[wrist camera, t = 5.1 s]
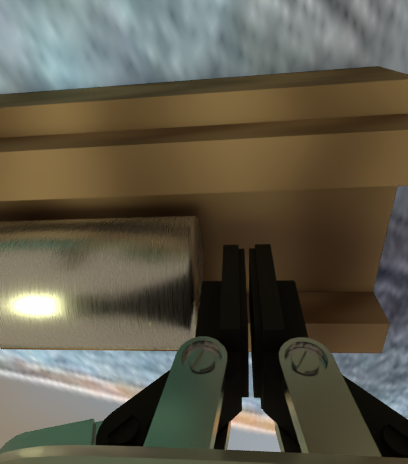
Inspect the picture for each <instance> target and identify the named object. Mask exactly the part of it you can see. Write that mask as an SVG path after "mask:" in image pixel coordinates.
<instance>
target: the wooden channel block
mask: <svg viewBox="0 0 408 464" xmlns="http://www.w3.org/2000/svg"><path fill="white" fill-rule="evenodd" d="M406 185H408V74H404V73H401V72H397V71H393V70H389V69H386V68H382V67H378V66H377V67H364V68H350V69H337V70H323V71H310V72H296V73H283V74H269V75H256V76H243V77H229V78H216V79H202V80H189V81H175V82H162V83H148V84H135V85H121V86H108V87H94V88H81V89H68V90H54V91H41V92H27V93H14V94H0V221H29V220H64V219H100V218H135V217H170V216H197V218H198V220H199V224H200V229H201V236H202V245H203V260H204V281H222V263H223V245H238V249H245V269H246V290H247V312H248V352H251V335H250V316H249V248H255V244H270V245H271V250H272V256H273V262H274V268H275V274H276V280H294V281H295V284H296V288H297V292H298V296H299V300H300V304H301V309H302V313H303V317H304V321H305V325H306V329H307V333H308V338H310V339H314V340H316V341H318V342H320V343H322V344H323V345H324V346H325V347H326V348H328V350H329V351H330V353H382V350H383V347H384V343H385V339H386V336H387V332H388V329H389V325H390V323H389V321H388V319H387V317H386V315H385V314H384V312H383V310H382V308H381V306H380V304H379V302H378V300H377V298H376V296H375V295H374V293H373V290H374V285H375V281H376V277H377V272H378V268H379V264H380V259H381V255H382V250H383V246H384V242H385V237H386V233H387V229H388V224H389V220H390V216H391V211H392V207H393V203H394V198H395V194H396V190H397V186H406ZM0 348H1V349H37V350H130V351H178V350H159V349H80V348H2V347H0Z"/></svg>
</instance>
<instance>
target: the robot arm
mask: <svg viewBox="0 0 408 464" xmlns="http://www.w3.org/2000/svg"><path fill="white" fill-rule="evenodd" d="M249 316H250V335H251V354H252V372H253V391H254V398H261V409H263V411H264V412H265V413H266V414H267V415H268V416H269V417H270V418H272V419H273V420H274V423H275V430H276V434H277V438H278V442H279V446H280V450H281V452H264V451H263V452H262V451H241V450H227V447H228V441H229V434H230V428H231V420H232V419H233V418H234V417H235V416H236V415H237V414H239V413H240V412H241V411H242V397H249V365H248V312H247V290H246V269H245V249H238V245H223V263H222V281H203V282H202V286H201V294H200V302H199V310H198V318H197V326H196V334H195V338H192V339H190V340H188V341H186V342H185V343H184V344H183V345H181V346H180V348H179V350H178V351H177V353H176V356H175V359H174V362H173V365H172V367H171V370H169V371H168V372H166V373H165V374H164V375H162V376H161V377H160V378H158V379H157V380H156V381H154V382H153V383H151V384H150V385H149V386H147V387H146V388H145V389H143V390H142V391H141V392H139V393H138V394H137V395H135V396H134V397H132V398H131V399H130V400H128V401H127V402H126V403H124V404H123V405H122V406H120V407H119V408H117V409H116V410H115V411H113V412H112V413H111V414H110V415H109V416H108V417H107V418H106V419H104V421H100V422H95V421H94V419H90V420H85V421H80V422H75V423H70V424H65V425H60V426H55V427H50V428H45V429H40V430H35V431H30V432H25V433H22V434H20V435H17V436H15V437H14V438H12V439H11V440H9V441H8V442H7V443H6V444H5V445H4V446H3V447H2V448H1V449H0V464H408V420H407V419H406V418H404V417H403V416H402V415H400V414H399V413H397V412H396V411H394V410H393V409H391V408H390V407H388V406H387V405H385V404H384V403H383V402H381V401H380V400H378V399H377V398H375V397H374V396H372V395H371V394H369V393H368V392H366V391H365V390H364V389H362V388H361V387H359V386H358V385H356V384H355V383H353V382H352V381H350V380H349V379H347V378H346V377H345V376H343V375H342V374H341V372H340V370H339V368H338V366H337V364H336V362H335V360H334V358H333V355H332V354H331V353H330V351H329V350H328V348H326V347H325V346H324V345H323V344H322V343H320V342H318V341H316V340H314V339H310V338H308V333H307V329H306V325H305V321H304V317H303V313H302V309H301V304H300V300H299V296H298V292H297V288H296V284H295V281H294V280H276V274H275V268H274V262H273V256H272V250H271V245H270V244H255V248H249Z"/></svg>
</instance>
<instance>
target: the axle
mask: <svg viewBox="0 0 408 464" xmlns="http://www.w3.org/2000/svg"><path fill="white" fill-rule="evenodd" d="M203 281H204V260H203V245H202V236H201V229H200V224H199V220H198V218H197V216H170V217H135V218H100V219H64V220H29V221H0V347H2V348H80V349H159V350H179V348H180V346H181V345H183V344H184V343H185V342H186V341H188V340H190V339H192V338H195V334H196V326H197V318H198V310H199V302H200V294H201V286H202V282H203Z"/></svg>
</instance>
